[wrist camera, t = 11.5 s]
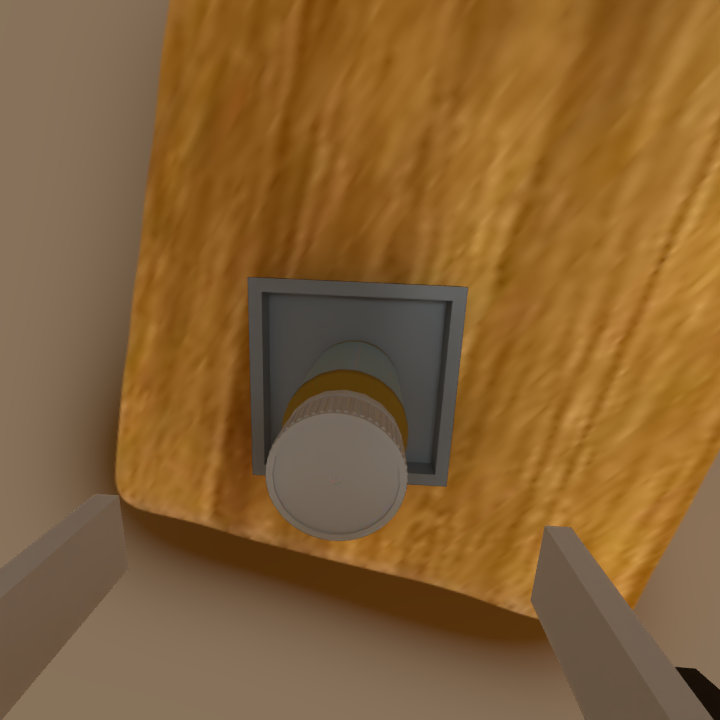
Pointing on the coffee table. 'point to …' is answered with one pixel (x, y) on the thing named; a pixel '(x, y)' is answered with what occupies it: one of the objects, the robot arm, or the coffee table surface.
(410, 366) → the tray
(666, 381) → the coffee table surface
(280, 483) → the bottle
